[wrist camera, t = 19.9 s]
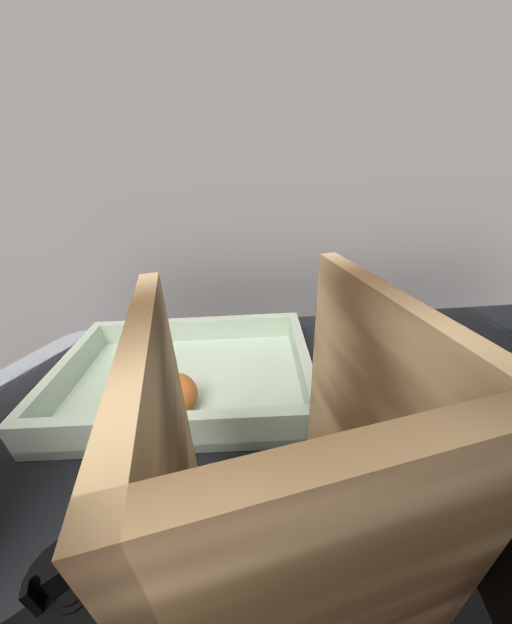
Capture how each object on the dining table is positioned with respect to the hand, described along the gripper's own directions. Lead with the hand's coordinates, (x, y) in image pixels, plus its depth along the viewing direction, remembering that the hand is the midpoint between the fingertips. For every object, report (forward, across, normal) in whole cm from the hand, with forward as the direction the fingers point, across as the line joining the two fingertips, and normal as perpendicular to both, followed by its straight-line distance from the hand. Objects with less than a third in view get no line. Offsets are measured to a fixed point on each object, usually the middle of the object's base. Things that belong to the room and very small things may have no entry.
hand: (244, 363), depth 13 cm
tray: (+10, -3, -9) cm, 13 cm away
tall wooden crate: (-5, 0, -7) cm, 8 cm away
